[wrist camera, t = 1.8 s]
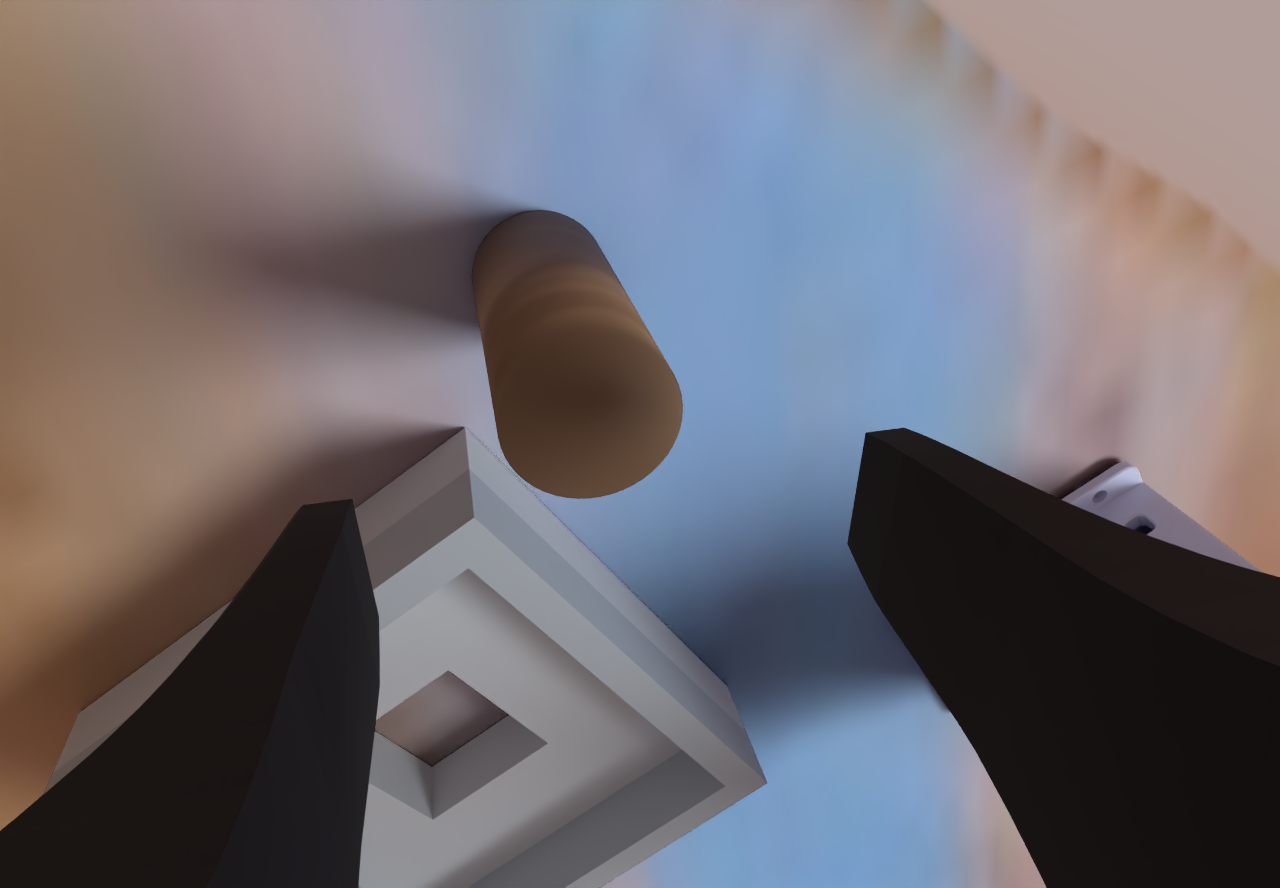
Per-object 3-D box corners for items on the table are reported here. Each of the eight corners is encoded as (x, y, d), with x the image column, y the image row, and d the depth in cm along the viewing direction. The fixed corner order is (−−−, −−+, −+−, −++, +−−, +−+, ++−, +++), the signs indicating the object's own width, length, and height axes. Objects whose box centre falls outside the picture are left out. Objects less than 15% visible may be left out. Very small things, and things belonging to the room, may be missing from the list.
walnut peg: (553, 182, 19) (616, 296, 13) (630, 287, 20) (715, 428, 15) (443, 266, 19) (456, 413, 13) (528, 361, 21) (571, 527, 15)
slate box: (464, 427, 21) (473, 517, 18) (727, 686, 29) (767, 783, 26) (78, 712, 23) (23, 841, 20) (420, 885, 31) (420, 1000, 28)
